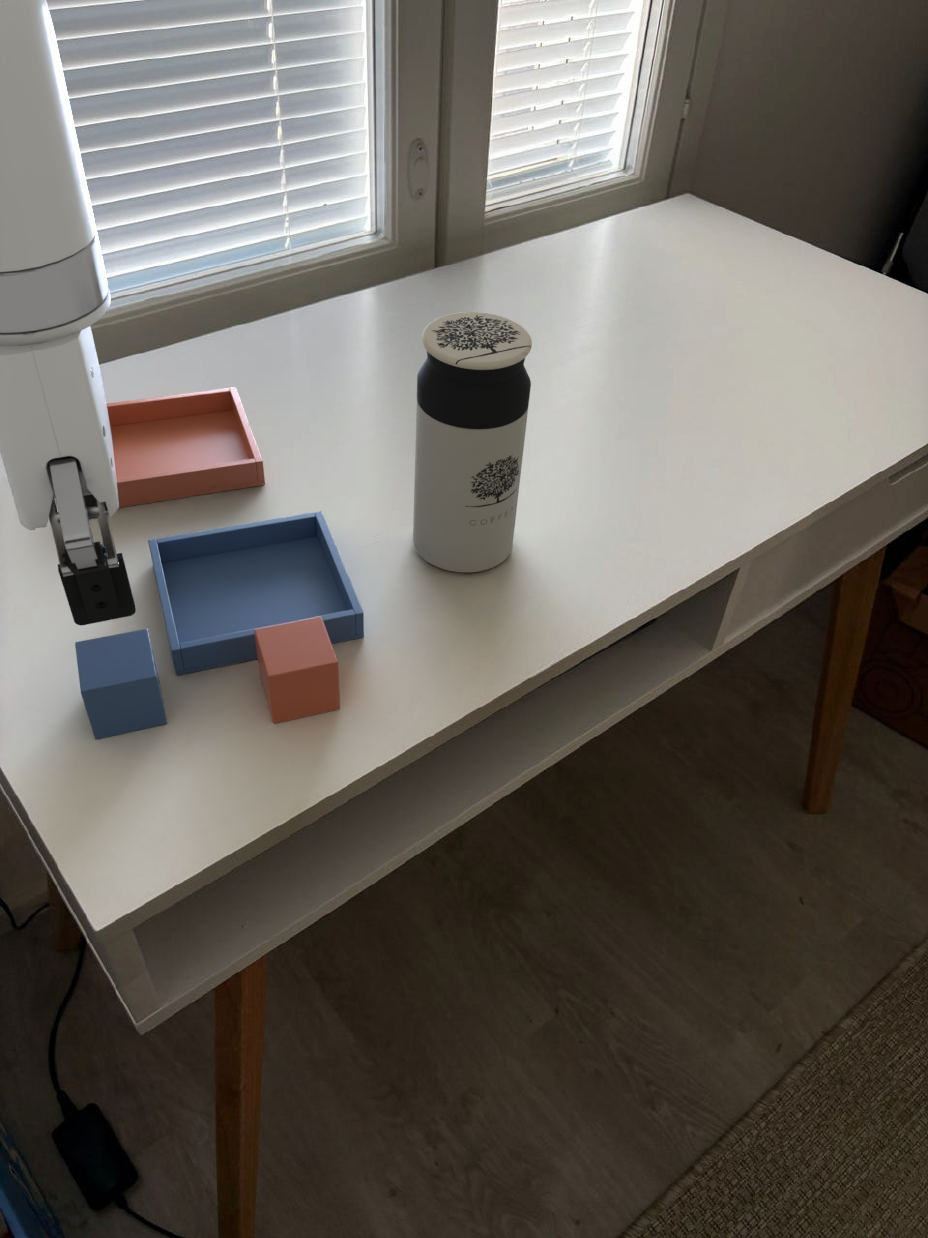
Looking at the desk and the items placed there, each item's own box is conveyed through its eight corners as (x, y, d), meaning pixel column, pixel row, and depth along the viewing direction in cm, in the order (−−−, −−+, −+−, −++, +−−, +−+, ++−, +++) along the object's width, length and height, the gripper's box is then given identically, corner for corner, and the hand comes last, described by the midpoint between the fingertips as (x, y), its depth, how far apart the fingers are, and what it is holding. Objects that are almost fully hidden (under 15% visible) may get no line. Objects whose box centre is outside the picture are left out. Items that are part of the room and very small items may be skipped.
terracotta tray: (101, 510, 81) (96, 486, 80) (88, 429, 89) (83, 406, 88) (265, 484, 85) (263, 461, 83) (238, 409, 93) (235, 386, 91)
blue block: (95, 740, 64) (80, 692, 61) (88, 690, 67) (74, 641, 64) (167, 724, 65) (156, 676, 62) (158, 675, 68) (147, 628, 65)
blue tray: (176, 676, 69) (171, 650, 67) (152, 564, 77) (147, 539, 75) (364, 637, 72) (363, 612, 71) (322, 534, 80) (321, 510, 79)
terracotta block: (273, 724, 66) (268, 676, 63) (259, 676, 69) (253, 628, 66) (340, 709, 67) (338, 662, 64) (324, 662, 70) (321, 615, 67)
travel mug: (400, 521, 82) (403, 315, 70) (491, 506, 84) (510, 303, 72) (430, 583, 77) (439, 372, 65) (527, 565, 79) (554, 357, 67)
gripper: (-67, 211, 51) (22, 486, 63) (-73, 383, 39) (37, 681, 51) (88, 197, 53) (145, 466, 65) (125, 357, 41) (187, 650, 53)
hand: (97, 561), depth 58 cm, fingers open, 9 cm apart
